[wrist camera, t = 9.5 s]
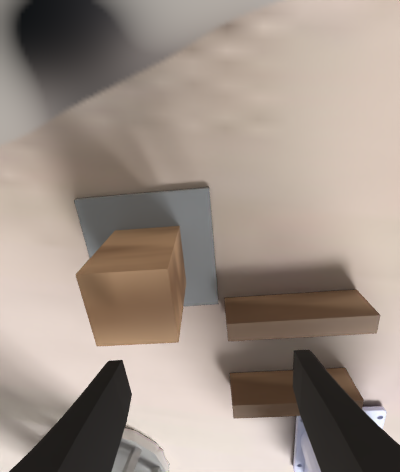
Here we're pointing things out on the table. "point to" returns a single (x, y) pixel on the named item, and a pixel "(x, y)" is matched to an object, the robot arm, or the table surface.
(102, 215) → the slate mat
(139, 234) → the oak block
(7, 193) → the table surface
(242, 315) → the shelf slot
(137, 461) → the vase
